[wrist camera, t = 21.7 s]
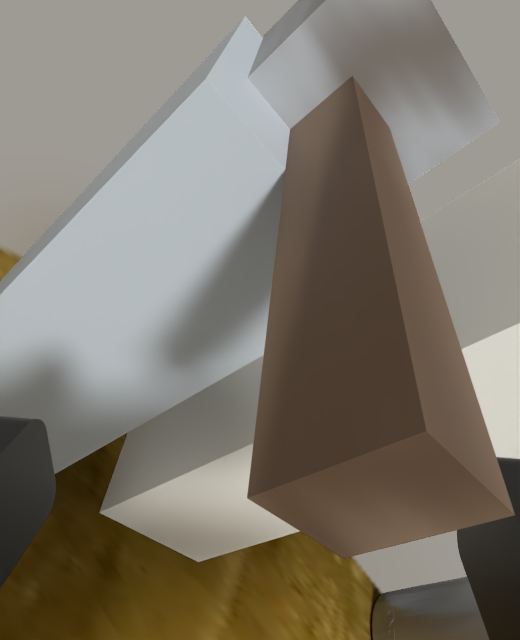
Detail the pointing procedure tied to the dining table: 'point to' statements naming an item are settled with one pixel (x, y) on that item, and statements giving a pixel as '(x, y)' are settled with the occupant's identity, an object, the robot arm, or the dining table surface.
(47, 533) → the dining table surface
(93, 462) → the dining table surface
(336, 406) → the mallet
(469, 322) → the tall pedestal
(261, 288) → the short pedestal
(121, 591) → the dining table surface
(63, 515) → the dining table surface
